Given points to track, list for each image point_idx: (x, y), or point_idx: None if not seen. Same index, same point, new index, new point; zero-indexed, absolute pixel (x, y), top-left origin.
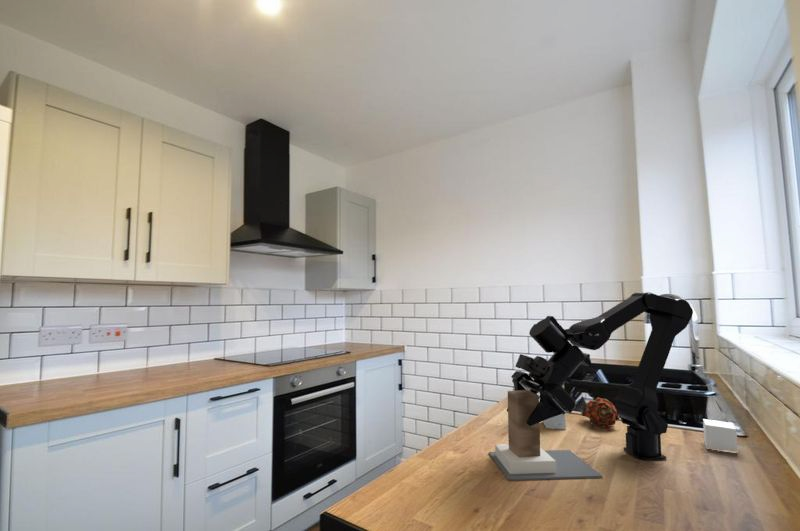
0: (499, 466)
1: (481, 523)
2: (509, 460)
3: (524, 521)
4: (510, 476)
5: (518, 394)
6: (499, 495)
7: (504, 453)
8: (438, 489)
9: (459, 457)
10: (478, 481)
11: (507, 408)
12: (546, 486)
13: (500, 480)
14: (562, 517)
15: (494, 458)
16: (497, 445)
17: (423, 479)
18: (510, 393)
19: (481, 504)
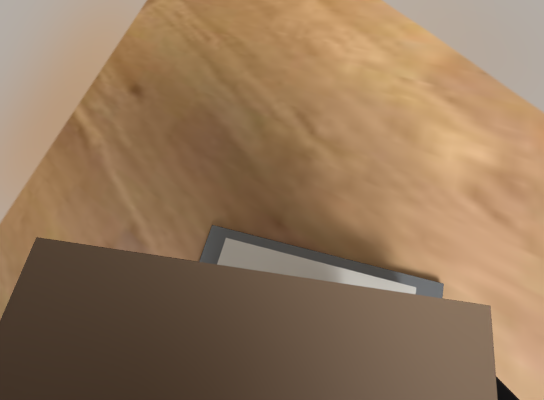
0: (300, 247)
1: (96, 81)
2: (239, 245)
3: (54, 155)
4: (221, 238)
5: (123, 342)
6: (160, 160)
7: (306, 267)
8: (244, 51)
9: (424, 163)
10: (244, 146)
11: (498, 383)
12: None
13: (225, 205)
14: (14, 241)
15: (370, 268)
16: (402, 291)
17: (303, 35)
18: (330, 283)
19: (148, 107)
